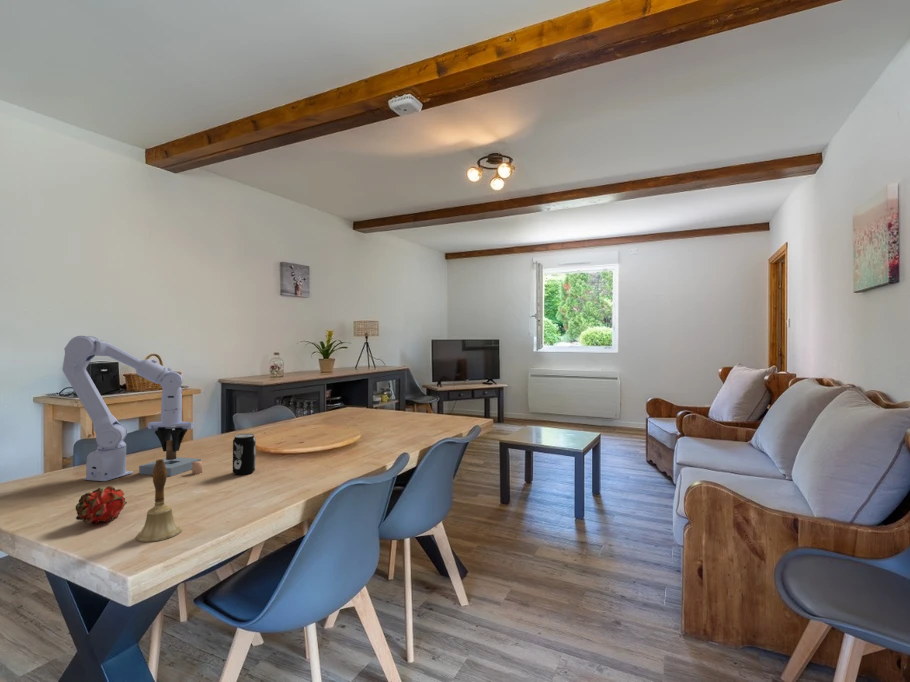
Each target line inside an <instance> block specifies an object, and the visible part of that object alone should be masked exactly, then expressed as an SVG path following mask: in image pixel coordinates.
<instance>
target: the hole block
mask: <svg viewBox="0 0 910 682" xmlns="http://www.w3.org/2000/svg"><path fill="white" fill-rule="evenodd" d="M162 459H163V460H164V464H165V466H166V470H167V477H173V476H177V475H180V474H183V473H185V472H186V473H187V472H189V471H192V470H191V469H192V462H196V461H202V459H201V458H192V457H179V456H178V457H177V456H176V459H174V460H166V457H165V458H162ZM155 464H156V460H155V461H152V462H148V463H145V464H141V465H139V466H138V469H139V470H138V474H139V475H149V476H153V469H154V466H155Z"/></svg>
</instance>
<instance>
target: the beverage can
mask: <svg viewBox="0 0 910 682" xmlns="http://www.w3.org/2000/svg"><path fill="white" fill-rule="evenodd" d="M256 442H257V441H256V437H255V434H254V433H238V434H234V438H233V440H232V473H233V474H235V476H247V475H250V474H253V473H254V472H255V470H256V450H257V449H256V448H257V445H256Z"/></svg>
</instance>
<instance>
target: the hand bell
mask: <svg viewBox="0 0 910 682" xmlns="http://www.w3.org/2000/svg"><path fill="white" fill-rule="evenodd" d="M163 459H164V458H160V459H156V460H155V461H156V464H155V466H154V469H153V475H152V484H153V485H154V491H155V492H154V506H153V507H151V508H149V509H148V510H147V512H146V519H145V521H144V522H145V523H144V525H143V527H142V528H141V531H140V532H138V533H137V535H136V538H135V539H136V541H138V542H141V543H152V542H159V541H163V540H167V539H170V538H173V537H176V536H177V535H179V534H180V533H181V532H182V530H183V527H182V526H181V525H180V524H179V523H177V522H176V520H175V518H174V515H173V510H172V507H171V506H170V505H166V504H165V485H166V482H167V477H168V476H167V470H166V466H165V464H164V460H163Z"/></svg>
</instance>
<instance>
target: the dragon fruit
mask: <svg viewBox="0 0 910 682" xmlns="http://www.w3.org/2000/svg"><path fill="white" fill-rule="evenodd" d="M124 496H125V493H124V491H123V489H121V488H118V489H116V488H115V487H114V486H112V485H108V486H106V487H105V488H102V487H98V488H97V489H95V490H92V492H91V491H89V492H85V494H82V495H81V496H80V498H79V499H78V503H77V504H76V505H75V511H76V514H77V516H75V519H76V520H78V521H82V522H83V524H89V525H92V526H95V525H97V524H99V522H104V523H107V522H109V523H110V522H112V521H114V519H117V518H118V517H119V515H120V513H121V511H122V510H124V507H125V506H126V504H128V502H127V501H126V499H125V497H124Z"/></svg>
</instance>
